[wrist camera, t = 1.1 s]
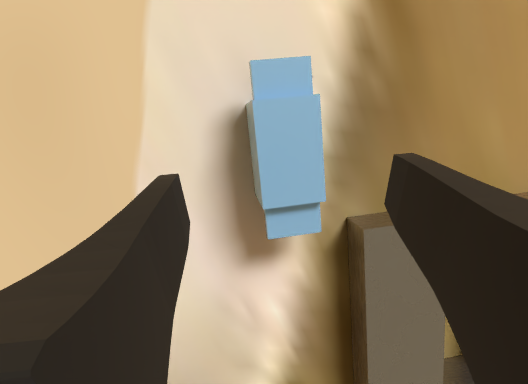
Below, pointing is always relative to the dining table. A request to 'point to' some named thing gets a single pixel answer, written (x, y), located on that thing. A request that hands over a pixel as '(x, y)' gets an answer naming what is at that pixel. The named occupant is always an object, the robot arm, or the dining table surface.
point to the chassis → (395, 311)
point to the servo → (286, 145)
